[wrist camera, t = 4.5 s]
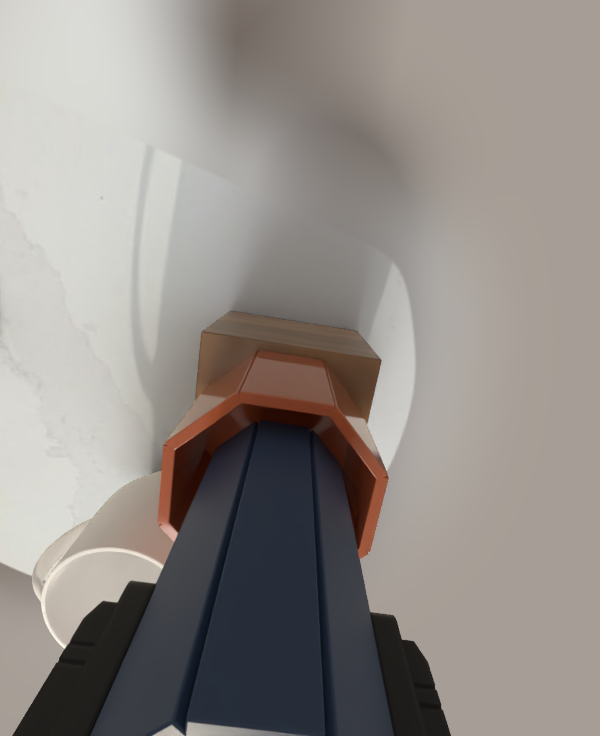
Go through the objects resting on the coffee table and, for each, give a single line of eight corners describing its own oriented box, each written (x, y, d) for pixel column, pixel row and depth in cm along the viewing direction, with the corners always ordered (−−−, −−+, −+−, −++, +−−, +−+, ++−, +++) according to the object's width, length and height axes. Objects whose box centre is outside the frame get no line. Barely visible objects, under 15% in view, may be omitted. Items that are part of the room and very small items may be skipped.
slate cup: (219, 412, 16) (64, 706, 6) (349, 432, 16) (439, 748, 6) (206, 525, 18) (65, 923, 7) (326, 541, 18) (364, 950, 7)
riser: (230, 310, 29) (201, 331, 21) (357, 331, 30) (382, 359, 21) (216, 429, 32) (186, 491, 23) (334, 446, 33) (347, 513, 24)
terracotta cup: (209, 341, 21) (167, 379, 14) (371, 367, 21) (404, 415, 15) (194, 485, 23) (152, 576, 17) (340, 505, 24) (357, 603, 17)
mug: (219, 442, 32) (175, 542, 21) (236, 530, 35) (205, 664, 23) (84, 457, 33) (-34, 564, 21) (110, 544, 35) (17, 682, 24)
